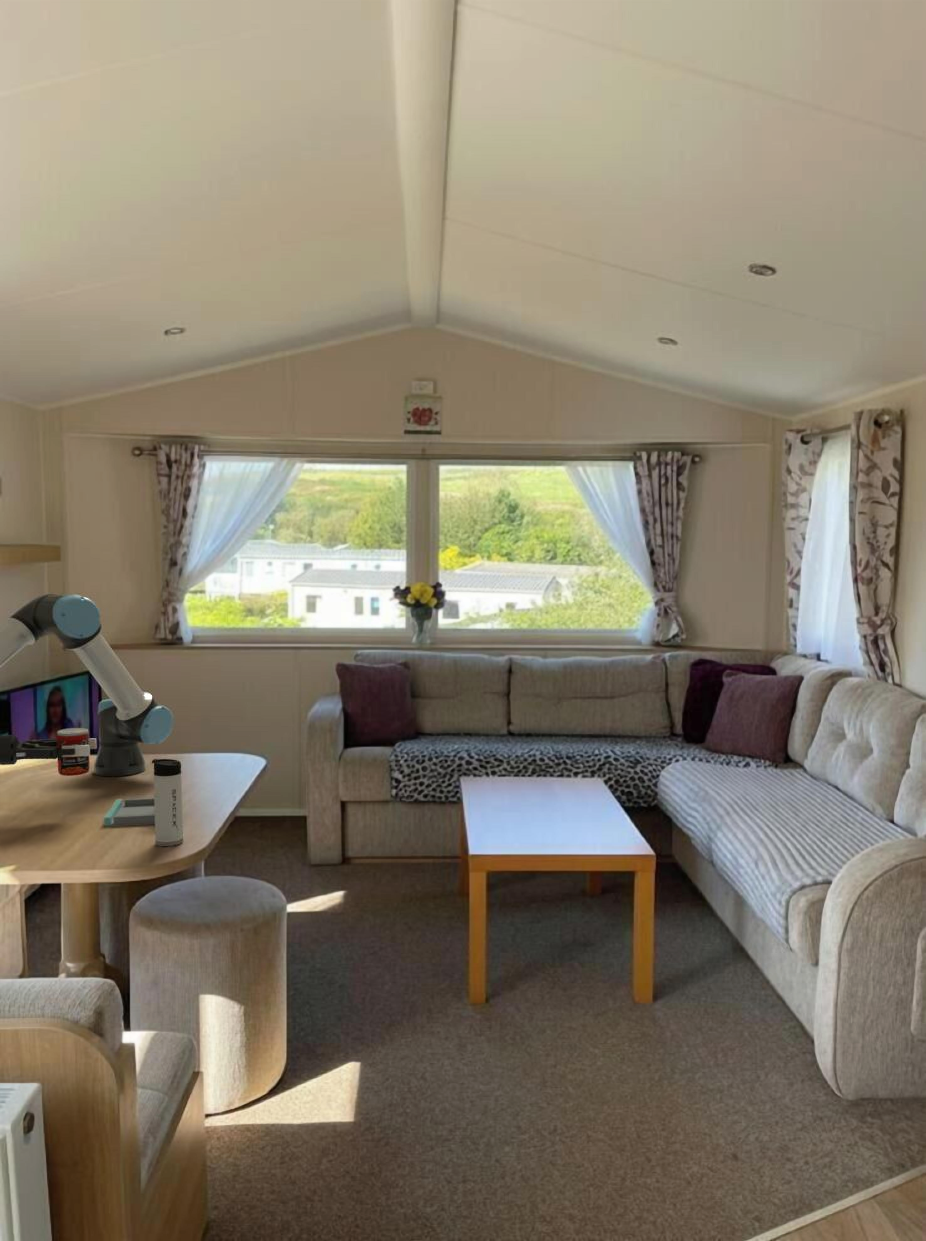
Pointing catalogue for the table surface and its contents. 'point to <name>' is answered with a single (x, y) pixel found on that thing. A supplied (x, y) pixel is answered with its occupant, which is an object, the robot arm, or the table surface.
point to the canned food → (77, 763)
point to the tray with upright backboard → (131, 812)
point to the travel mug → (168, 802)
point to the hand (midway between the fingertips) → (92, 747)
